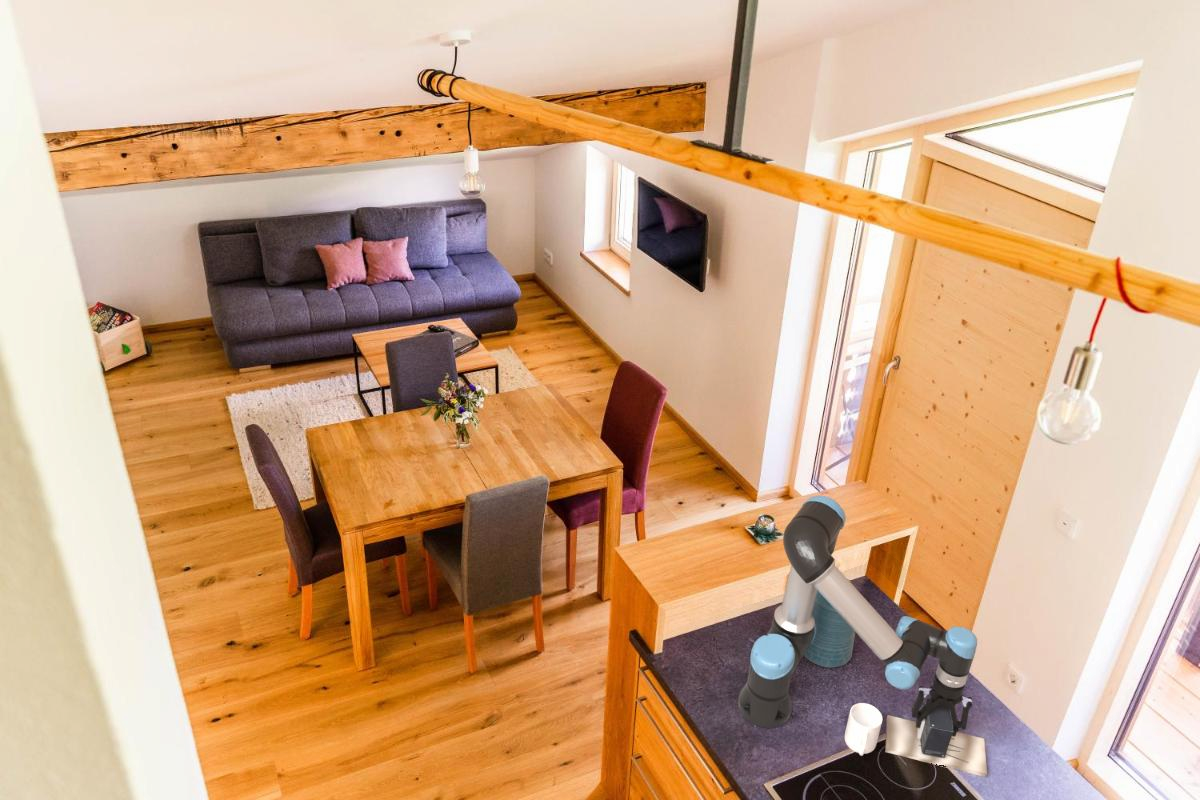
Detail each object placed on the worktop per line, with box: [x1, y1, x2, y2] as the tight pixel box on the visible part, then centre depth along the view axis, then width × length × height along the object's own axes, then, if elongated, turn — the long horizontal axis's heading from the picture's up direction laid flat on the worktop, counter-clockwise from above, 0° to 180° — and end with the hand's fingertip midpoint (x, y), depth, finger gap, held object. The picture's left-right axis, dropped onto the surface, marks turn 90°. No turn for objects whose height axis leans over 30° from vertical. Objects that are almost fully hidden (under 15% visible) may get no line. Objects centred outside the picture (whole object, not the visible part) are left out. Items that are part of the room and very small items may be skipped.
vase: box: [803, 579, 856, 668], centre depth 270 cm, size 16×16×27 cm
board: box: [884, 714, 988, 778], centre depth 245 cm, size 26×12×2 cm, turn 73°
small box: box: [920, 697, 953, 758], centre depth 242 cm, size 11×6×10 cm, turn 168°
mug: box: [844, 702, 883, 757], centre depth 242 cm, size 9×12×11 cm
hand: (932, 738), depth 244 cm, fingers closed on small box, 7 cm apart
